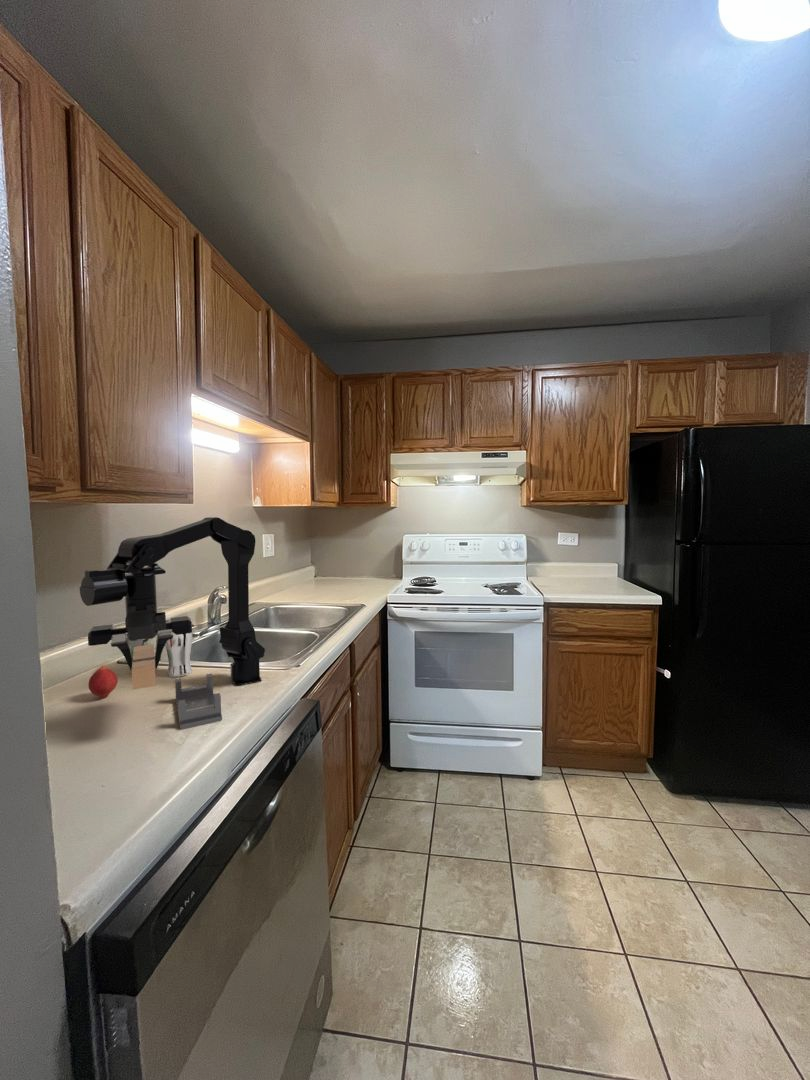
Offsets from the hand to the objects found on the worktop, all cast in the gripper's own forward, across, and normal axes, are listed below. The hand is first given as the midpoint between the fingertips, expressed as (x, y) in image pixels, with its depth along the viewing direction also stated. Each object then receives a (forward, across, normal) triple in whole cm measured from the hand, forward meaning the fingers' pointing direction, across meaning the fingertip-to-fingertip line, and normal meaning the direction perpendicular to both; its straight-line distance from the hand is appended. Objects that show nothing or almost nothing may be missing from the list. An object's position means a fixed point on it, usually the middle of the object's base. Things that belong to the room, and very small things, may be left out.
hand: (144, 669), depth 97 cm
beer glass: (+11, +8, +28) cm, 31 cm away
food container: (+11, -1, +39) cm, 41 cm away
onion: (+11, -9, +19) cm, 24 cm away
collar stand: (+11, +10, 0) cm, 15 cm away
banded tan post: (+1, 0, 0) cm, 1 cm away
